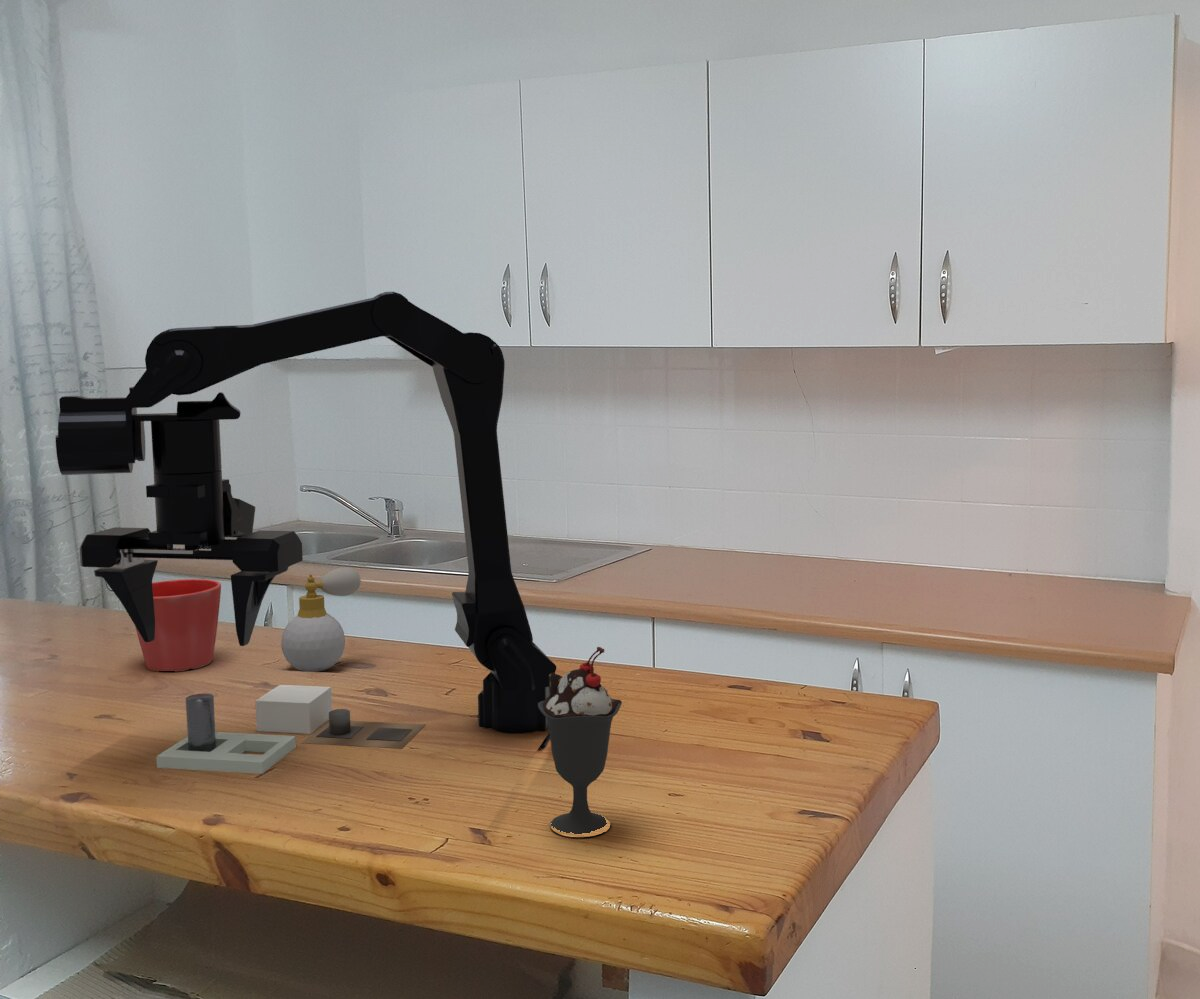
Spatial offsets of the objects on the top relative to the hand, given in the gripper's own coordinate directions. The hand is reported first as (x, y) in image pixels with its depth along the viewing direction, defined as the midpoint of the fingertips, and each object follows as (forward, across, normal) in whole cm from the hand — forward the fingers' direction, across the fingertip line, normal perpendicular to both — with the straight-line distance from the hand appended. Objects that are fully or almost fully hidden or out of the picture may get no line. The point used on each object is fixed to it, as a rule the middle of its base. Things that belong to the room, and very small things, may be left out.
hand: (196, 643), depth 105 cm
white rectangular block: (+12, -4, -10) cm, 16 cm away
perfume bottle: (+12, +4, -35) cm, 37 cm away
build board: (+12, -2, 0) cm, 12 cm away
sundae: (+12, -36, +7) cm, 39 cm away
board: (+12, -12, -8) cm, 19 cm away
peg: (+12, 0, 0) cm, 12 cm away
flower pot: (+12, +22, -34) cm, 42 cm away
